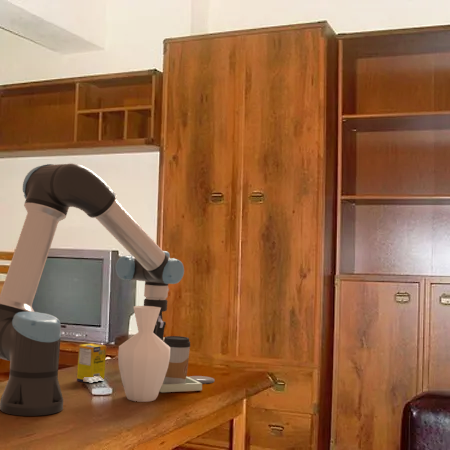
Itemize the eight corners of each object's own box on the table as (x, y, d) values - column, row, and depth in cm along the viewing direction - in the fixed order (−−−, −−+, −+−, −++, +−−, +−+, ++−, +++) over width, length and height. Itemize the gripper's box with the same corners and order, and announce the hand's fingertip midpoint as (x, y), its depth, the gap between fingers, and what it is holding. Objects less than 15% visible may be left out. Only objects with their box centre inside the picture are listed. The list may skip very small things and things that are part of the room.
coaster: (193, 384, 214) (193, 382, 214) (181, 378, 222) (181, 376, 222) (219, 382, 219) (219, 380, 219) (206, 377, 227) (206, 375, 227)
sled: (161, 392, 199) (163, 350, 199) (131, 375, 220) (133, 337, 221) (201, 390, 205) (204, 349, 205) (168, 374, 226) (171, 337, 227)
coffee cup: (183, 392, 202) (186, 340, 202) (156, 389, 203) (159, 338, 204) (191, 387, 210) (193, 337, 210) (164, 384, 211) (167, 335, 212)
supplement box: (104, 381, 211) (106, 345, 211) (90, 384, 206) (93, 347, 206) (90, 378, 214) (92, 342, 214) (76, 381, 209) (78, 344, 209)
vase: (155, 406, 182) (161, 311, 183) (106, 400, 186) (112, 306, 187) (175, 396, 196) (180, 307, 197) (129, 390, 200) (134, 303, 201)
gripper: (175, 300, 219) (171, 375, 218) (158, 296, 232) (153, 367, 231) (153, 300, 215) (148, 376, 215) (136, 296, 228) (132, 368, 228)
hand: (151, 371), depth 223 cm, fingers closed on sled, 2 cm apart
